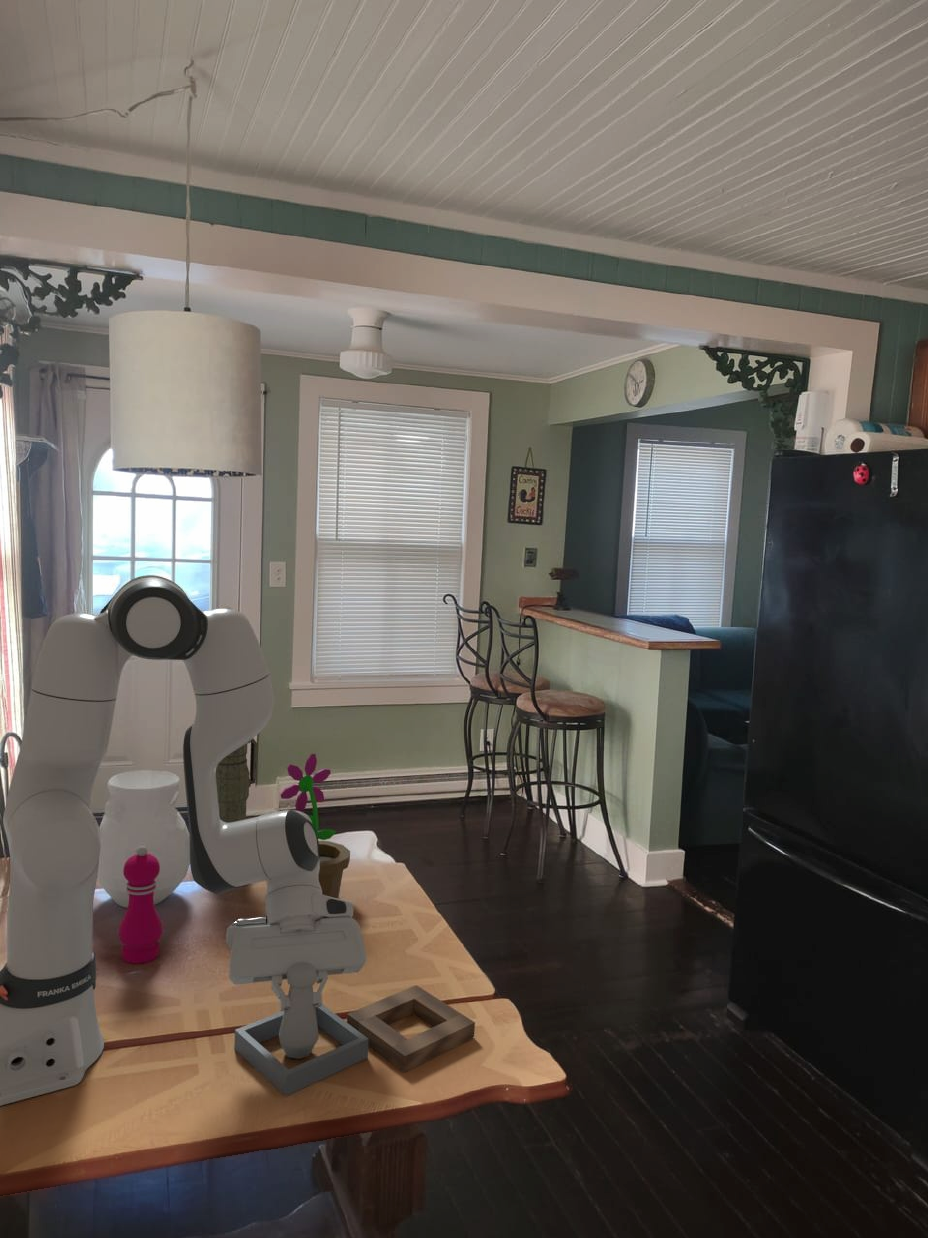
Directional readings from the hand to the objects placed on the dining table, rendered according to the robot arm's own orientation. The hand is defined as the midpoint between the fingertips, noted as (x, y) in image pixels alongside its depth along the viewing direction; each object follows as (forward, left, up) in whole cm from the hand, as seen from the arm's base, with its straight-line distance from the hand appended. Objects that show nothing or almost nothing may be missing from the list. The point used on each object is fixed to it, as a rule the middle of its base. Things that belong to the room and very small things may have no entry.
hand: (301, 1008), depth 130 cm
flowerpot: (+32, +43, -8) cm, 54 cm away
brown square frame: (+17, -6, -7) cm, 19 cm away
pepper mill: (-5, +42, -8) cm, 44 cm away
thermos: (+24, +65, -8) cm, 70 cm away
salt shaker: (0, +1, -7) cm, 7 cm away
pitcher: (+5, +64, -8) cm, 65 cm away
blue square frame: (+1, 0, -7) cm, 8 cm away
